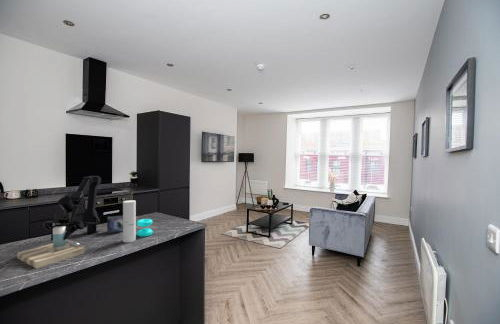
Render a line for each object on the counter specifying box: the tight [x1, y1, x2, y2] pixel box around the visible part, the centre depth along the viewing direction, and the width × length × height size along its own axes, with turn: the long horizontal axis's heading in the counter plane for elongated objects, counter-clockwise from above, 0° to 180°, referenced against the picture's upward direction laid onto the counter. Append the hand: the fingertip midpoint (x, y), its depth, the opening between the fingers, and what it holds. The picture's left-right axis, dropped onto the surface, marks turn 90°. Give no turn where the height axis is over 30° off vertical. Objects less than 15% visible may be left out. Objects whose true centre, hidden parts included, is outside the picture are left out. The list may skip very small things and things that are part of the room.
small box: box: [106, 215, 123, 235], centre depth 170 cm, size 11×6×10 cm, turn 117°
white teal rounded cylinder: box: [52, 226, 67, 253], centre depth 131 cm, size 6×6×13 cm
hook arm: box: [66, 238, 81, 247], centre depth 137 cm, size 14×2×2 cm, turn 61°
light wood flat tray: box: [16, 243, 85, 269], centre depth 129 cm, size 22×21×3 cm
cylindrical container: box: [122, 199, 137, 243], centre depth 153 cm, size 7×7×25 cm
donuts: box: [136, 218, 154, 238], centre depth 164 cm, size 10×10×10 cm
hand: (57, 239), depth 130 cm, fingers closed on white teal rounded cylinder, 6 cm apart
